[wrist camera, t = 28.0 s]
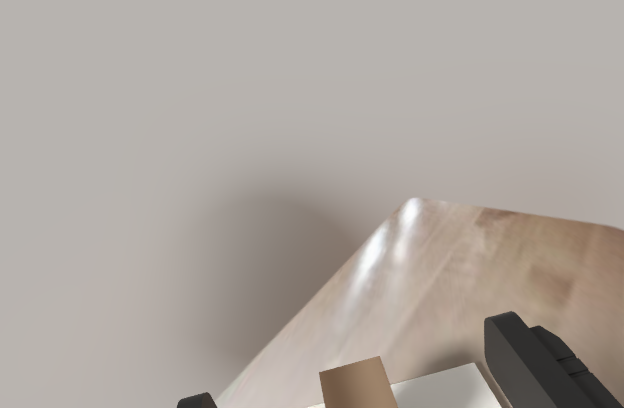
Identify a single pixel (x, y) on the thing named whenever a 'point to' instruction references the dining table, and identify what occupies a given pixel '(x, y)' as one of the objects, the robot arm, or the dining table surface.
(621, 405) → the robot arm
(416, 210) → the dining table surface
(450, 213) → the dining table surface
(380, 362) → the block
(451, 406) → the board
